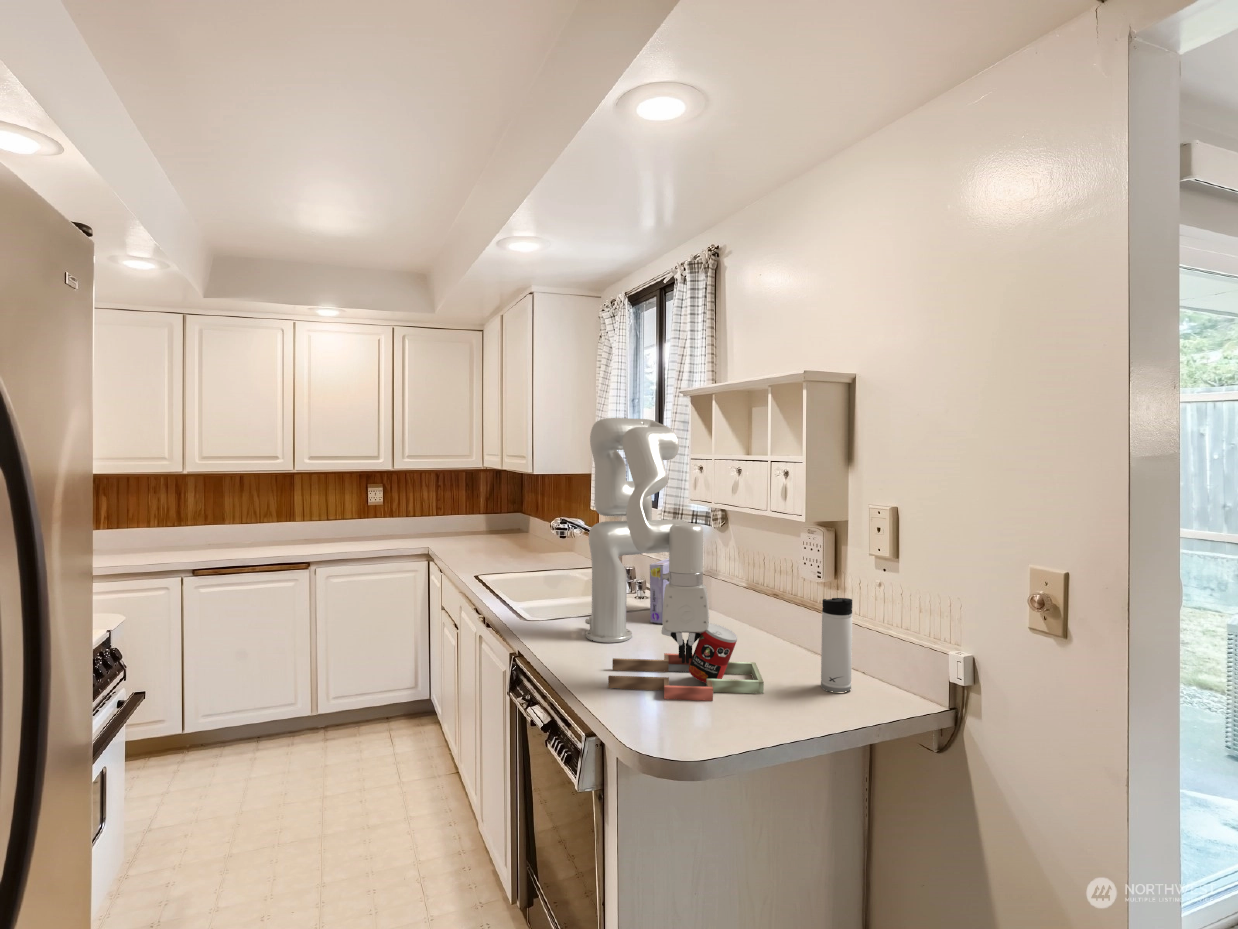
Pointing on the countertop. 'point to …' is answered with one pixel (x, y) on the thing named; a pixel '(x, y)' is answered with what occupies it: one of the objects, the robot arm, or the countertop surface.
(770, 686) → the countertop surface
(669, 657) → the box
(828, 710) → the countertop surface
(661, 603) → the cake pan box
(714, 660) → the canned food
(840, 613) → the travel mug
